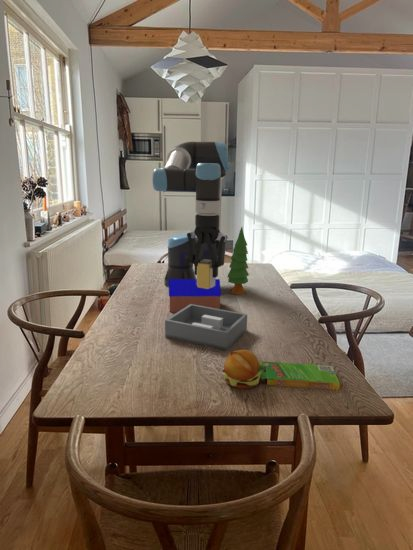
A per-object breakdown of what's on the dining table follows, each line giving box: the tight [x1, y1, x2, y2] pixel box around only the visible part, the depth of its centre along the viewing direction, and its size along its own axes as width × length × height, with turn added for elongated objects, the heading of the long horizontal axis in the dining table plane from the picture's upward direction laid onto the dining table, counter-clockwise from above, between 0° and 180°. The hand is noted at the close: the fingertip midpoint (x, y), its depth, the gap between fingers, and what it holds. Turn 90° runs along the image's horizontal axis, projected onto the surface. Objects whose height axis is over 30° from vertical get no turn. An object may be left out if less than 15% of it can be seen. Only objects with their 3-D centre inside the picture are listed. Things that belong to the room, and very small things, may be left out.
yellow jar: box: [197, 259, 212, 289], centre depth 135 cm, size 4×4×9 cm
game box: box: [259, 361, 341, 391], centre depth 113 cm, size 3×10×20 cm
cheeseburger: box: [222, 349, 264, 390], centre depth 109 cm, size 10×11×10 cm
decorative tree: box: [227, 226, 250, 295], centre depth 182 cm, size 10×9×30 cm
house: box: [168, 278, 222, 313], centre depth 165 cm, size 12×20×12 cm, turn 95°
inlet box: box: [164, 304, 248, 351], centre depth 140 cm, size 22×18×6 cm
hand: (205, 285), depth 136 cm, fingers closed on yellow jar, 4 cm apart
